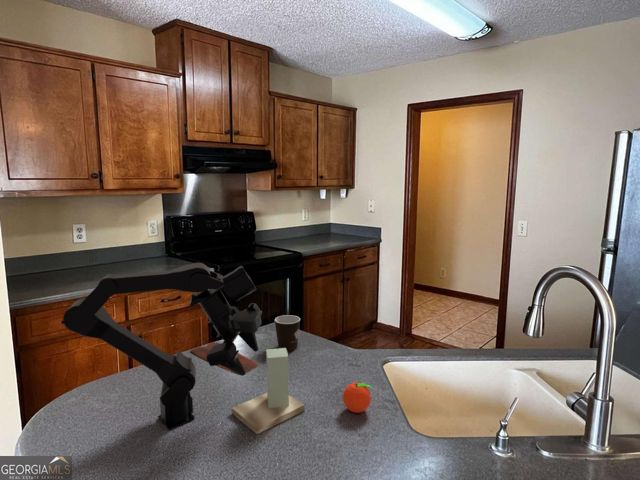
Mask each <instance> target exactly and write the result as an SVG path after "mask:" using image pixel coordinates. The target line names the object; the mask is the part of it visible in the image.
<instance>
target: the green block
mask: <svg viewBox="0 0 640 480" xmlns="http://www.w3.org/2000/svg"><path fill="white" fill-rule="evenodd" d="M265 352H266V353H265V355H266V357H265V358H266V360H265V361H266V363H265V364H266V367H265V368H266V393H267V400H268V408H277V407H286V406H289V395H290V392H289V391H290V390H289V388H290V387H289V385H290V382H289V379H290V378H289V373H290V372H289V354H288V351H287V350H286V348H270V349H269V348H268V349H266V350H265Z"/></svg>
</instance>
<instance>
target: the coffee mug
mask: <svg viewBox="0 0 640 480" xmlns="http://www.w3.org/2000/svg"><path fill="white" fill-rule="evenodd" d="M274 323H275V325H274V326H275V332H276V341H277V347H278V348H277V349H279V348H286V350H287V352H293V351H295V350H297V348H298V343H299V336H300V335H299V334H300V325H301V324H300V323H301V318H300V317H299V316H297V315H292V314H291V315H289V314H286V315H285V314H283V315H279V316H277V317H275V319H274Z"/></svg>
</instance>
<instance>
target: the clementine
mask: <svg viewBox="0 0 640 480" xmlns="http://www.w3.org/2000/svg"><path fill="white" fill-rule="evenodd" d="M368 387H369V388H368ZM370 388H371V389H372V390H374V388H373V387H372V386H371V385H368V384H367V383H362V382H352V383H350V384H348V385H347V386H346V387H345V389H344V391H343V394H342V400H343V404H344V405H345V407H346V409H347V410H348V411H350V412H353V413H355V414H357V413H362V412H365V411H366V410H367V409H368V408H369V406H370V405H371V400H372V397H371V392H370V390H369V389H370Z"/></svg>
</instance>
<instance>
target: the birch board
mask: <svg viewBox="0 0 640 480" xmlns="http://www.w3.org/2000/svg"><path fill="white" fill-rule="evenodd" d="M305 408H306V407H305V404H304V403H302V402H301V401H300V400H298V399H296V398H295V397H293V396H291V395H290V394H289V406H286V407H277V408H268V400H267V392H266V393H263V394H261V395H259V396H256V397H254V398H251V399H249V400H247V401H245V402H242V403H240V404H238V405H235V406H233V407H232V408H231V414H232V415H233V416H235V418H237V419H238V420H239V421H240V422H242V423H243V424H244V425H245V426H247V427H248V428H249V429H250V430H252V432H254V433H255V434H256V435H258V434H261V433H263V432H265V431H266V430H268V429H270V428H272V427H274V426H276V425H279V424H280V423H282V422H285V421H286V420H288V419H291V418H293V417H294V416H297V415H299V414H300V413H302V412H304V411H305Z"/></svg>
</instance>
